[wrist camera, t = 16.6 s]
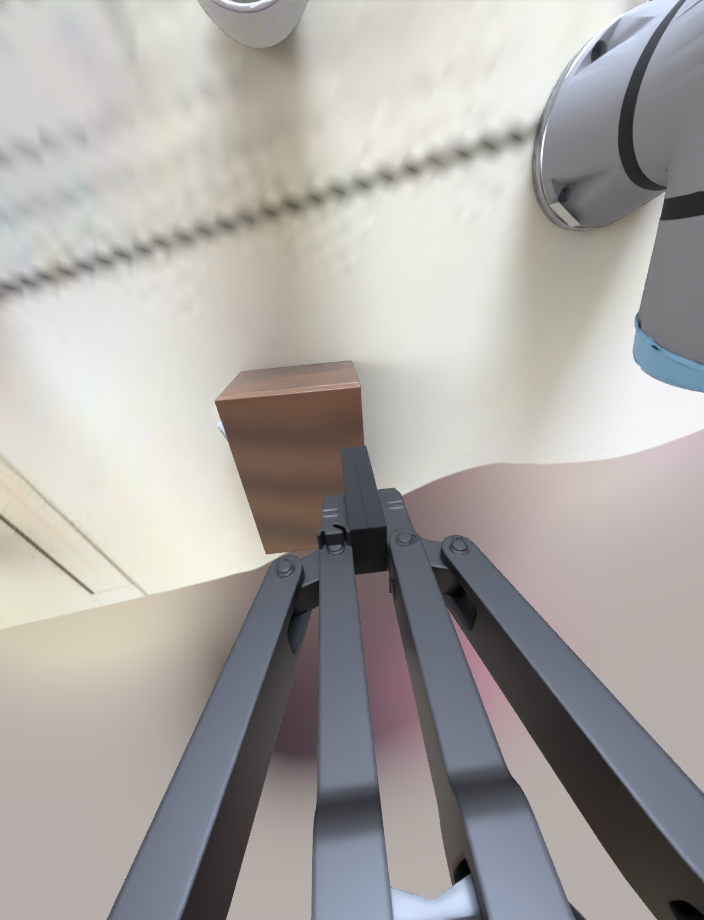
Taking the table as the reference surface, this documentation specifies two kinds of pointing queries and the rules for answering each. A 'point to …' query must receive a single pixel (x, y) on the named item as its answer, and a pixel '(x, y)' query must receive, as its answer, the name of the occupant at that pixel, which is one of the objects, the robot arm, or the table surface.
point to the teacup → (255, 19)
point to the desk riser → (291, 444)
